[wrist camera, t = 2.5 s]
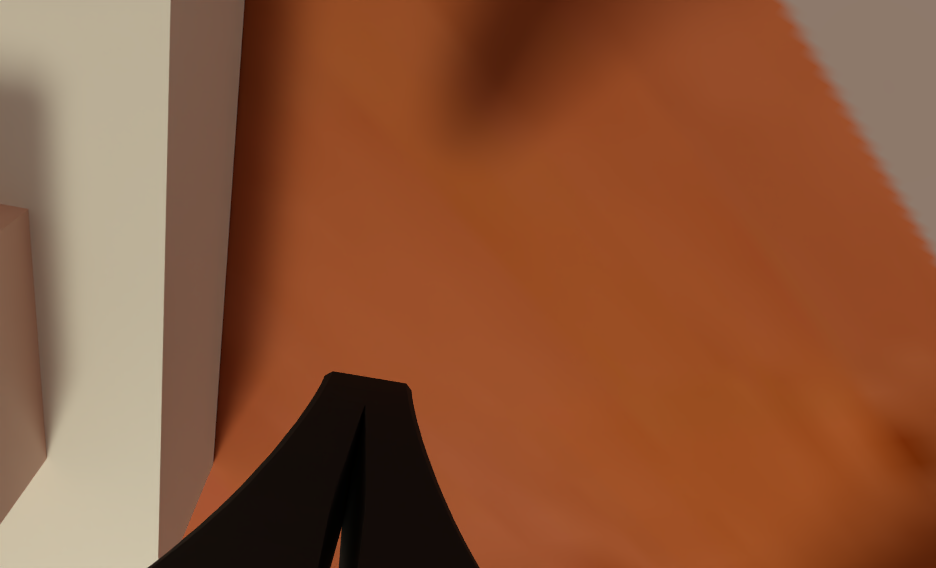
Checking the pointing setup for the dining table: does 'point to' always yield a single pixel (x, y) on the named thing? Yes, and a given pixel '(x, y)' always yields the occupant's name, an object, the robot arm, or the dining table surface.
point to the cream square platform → (120, 262)
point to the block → (18, 362)
